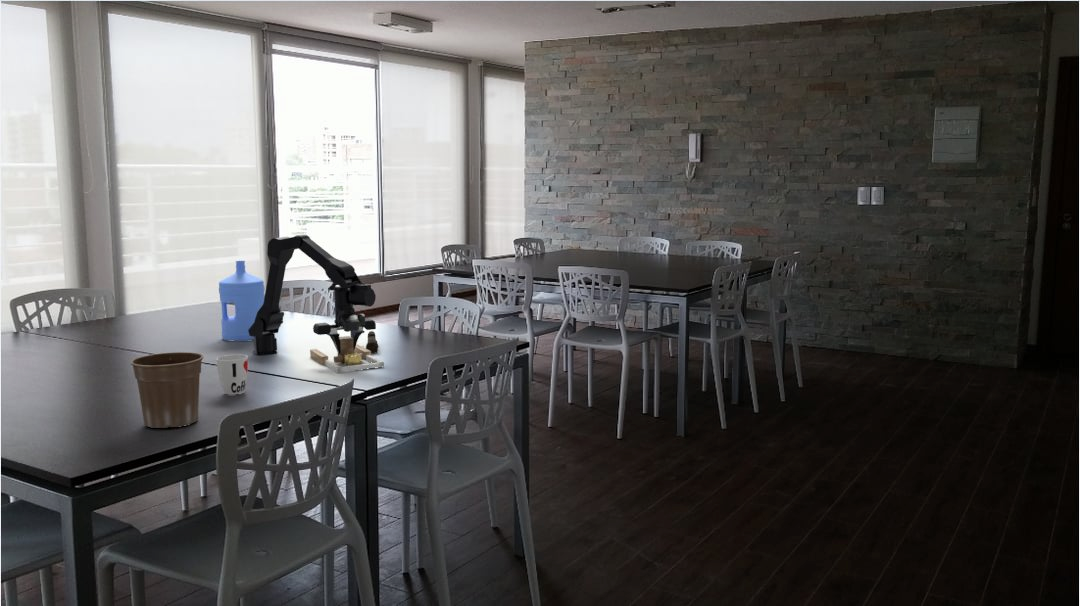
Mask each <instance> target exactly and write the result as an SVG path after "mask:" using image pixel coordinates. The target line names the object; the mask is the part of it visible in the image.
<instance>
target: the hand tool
mask: <svg viewBox="0 0 1080 606" xmlns="http://www.w3.org/2000/svg"><path fill="white" fill-rule="evenodd" d="M365 348H366V349H368V350H370V351H371V354H376V353H378V351H379V350H378V348H379V344H378V340H377V338H376V333H375V331H374V330H369V332H368V333H367V343H366V346H365ZM375 352H376V353H375Z"/></svg>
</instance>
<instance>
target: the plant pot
mask: <svg viewBox="0 0 1080 606" xmlns="http://www.w3.org/2000/svg"><path fill="white" fill-rule="evenodd" d="M203 359H204V355H203V354H201V353H199V352H189V351H188V352H187V351H186V352H184V351H183V352H181V351H180V352H179V351H177V352H176V351H175V352H163V353H162V352H161V353H154V354H153V353H152V354H147V355H142V356H138V357H136V358H133V359H131V360H130V365H131V366H132V368H133V374H134V377H135V379H136V382H137V387H138V392H139V399H140V405H141V406H140V407H141V412H142V418H143V425H144V426H145V427H146V426H148V427H152V428H167V429H168V428H173V427H179V426H184V425H188V424H191V423H194V422H196V421H197V420H198V421H199V403H200V402H199V401H200V399H199V398H200V397H199V396H200V374H201V373H202V362H203V361H202V360H203ZM198 421H197V422H198ZM197 422H196V423H197ZM194 424H195V423H194Z"/></svg>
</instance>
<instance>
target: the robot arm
mask: <svg viewBox="0 0 1080 606" xmlns="http://www.w3.org/2000/svg"><path fill="white" fill-rule="evenodd" d="M297 249H298V250H300V251H301V252H302V253H304V254H305V255H306V256H307V257H308V258H309V259H311V260H313V262H314V263H315V264H318V266H319V267H321V268H322V269H323V270H324V272H325V275H326V276H327V278H328V279H329V280H330V281H331V283H332V284H331V285H329V286H328V288H327V290H328V291H333V297H334V299H333V300H334V307H333V311H334V318H335V319H334V324H329V323H327V322H318V323H314V324H313V328H312V329H313V333H314V334H315V335H316V334H317V335H318V336H319V335H320V336H322V335H327V336H328V337H330V339H331V341H332V342H333V345H334V347H335V349H336V353H337V355H338V354H340V342H339V337H340V333H338V331H341V330H343V331H344V332H347V333H348V332H350V337H352V338H353V348H354V350H355V347H356V345H357V343H358V340H359V338H360V337H361V335H362V334H365V330H366V331H373V330H376V329H377V324H376V321H375V320H373V319H371V318H369V317H368V318H366V316H365V314H364V313H359V314H357V315H356V311H355V307H354V306H356V307H358V306H359V307H368V308H369V307H372V306H374V305H375V302H376V297H377V296H376V292H375V291H374V289H373V288H372V285H371V284H369V283H368V284H363V282H362V281H361V279H360V278H359V276H358V275H357V273H356V272H355V271H356V270H355V267H353V265H351V264H350V263H348V262H346V261H344V260H340V259H339V258H336V257H334V256H333V255H331V254H330V253H329V252H328V251H326V250H325V249H324V248H323V247H321V246H320V245H319V244H317V243H316V242H315V241H314V240H312V239H311V237H310V236H309V235H307V234H298V235H295V236H292V237H289V236H284V237H283V236H279V237H274V238H271V239H269V241H268V242H267V250H266V251H267V252H266V253H267V255H266V256H267V258H268V261H269V262H270V263H269V269H268V274H267V280H266V281H267V282H266V286H265V291H264V295H265V297H264V303H263V305H262V306H261V308H260V309H259V311H258V312H257V315H256V318H255V322H254V323H253V325H252V326H251V327H250V328H249V330H248V332H249V335H250V336H253V337H254V340H253V347H254V349H253V350H252V352H253V353H254V354H255V355H257V356H262V355H272V354H277V353H278V340H277V338H276V335H275V334H278V333H279V330H280V327H281V326H282V324H283V323H284V321H283V320H284V319H283V318H284V316H285V312H284V311H281V308H280V302H281V301H280V300H281V297H282V296H281V295H282V290H283V284H284V278H285V273H286V267H287V265H288V263H289V262H290V260H291V259H292V258H293V256H294V251H295V250H297ZM364 329H365V330H364Z"/></svg>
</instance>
